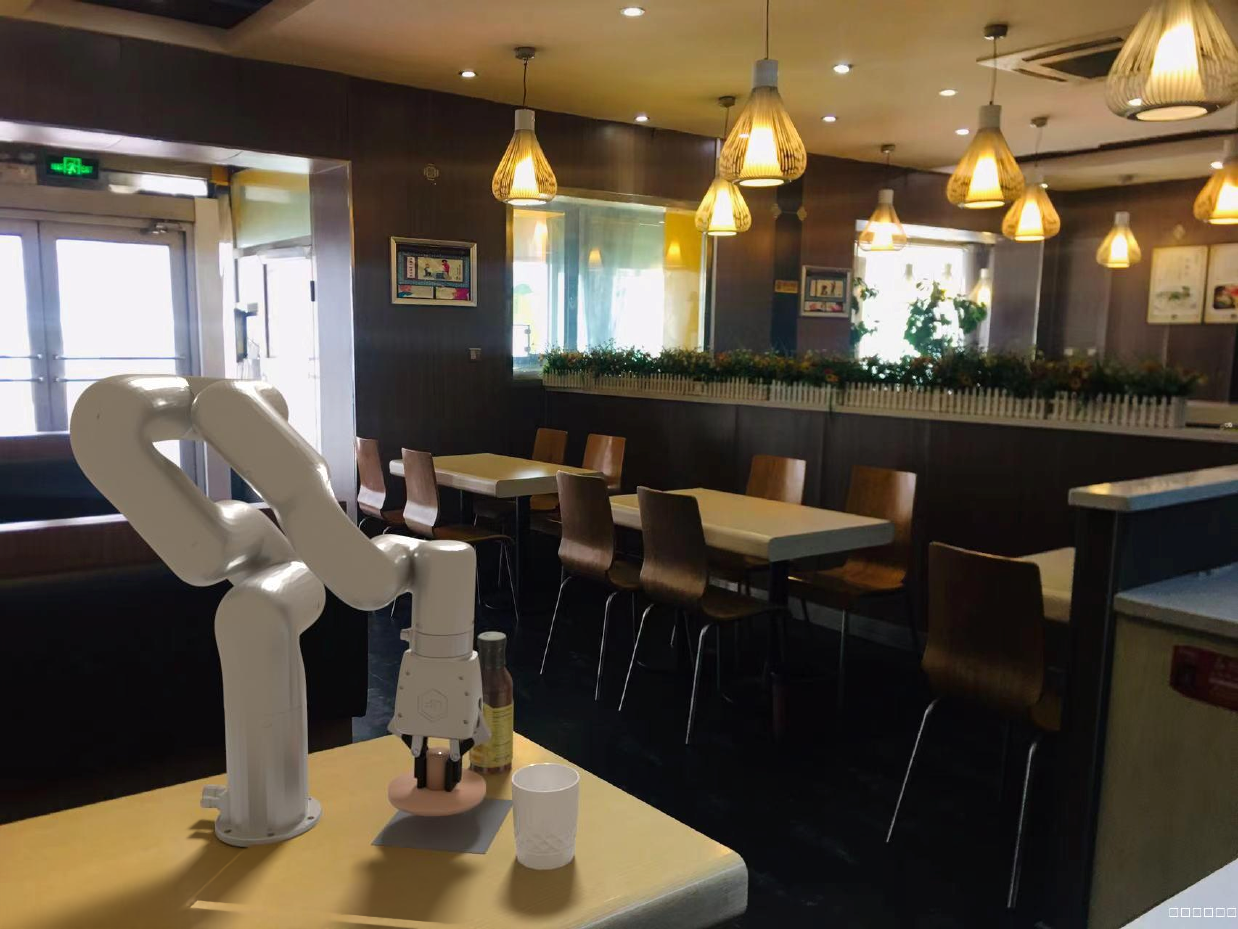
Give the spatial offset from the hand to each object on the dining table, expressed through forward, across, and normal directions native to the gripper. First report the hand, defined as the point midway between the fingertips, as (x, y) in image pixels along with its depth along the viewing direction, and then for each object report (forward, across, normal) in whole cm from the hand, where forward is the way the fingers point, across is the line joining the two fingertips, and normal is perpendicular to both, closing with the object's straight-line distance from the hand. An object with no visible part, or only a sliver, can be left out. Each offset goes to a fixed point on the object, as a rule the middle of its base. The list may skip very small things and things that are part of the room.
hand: (437, 784), depth 117 cm
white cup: (+5, +15, -6) cm, 17 cm away
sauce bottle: (+5, +2, +17) cm, 18 cm away
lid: (+1, 0, 0) cm, 1 cm away
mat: (+5, +1, 0) cm, 5 cm away
